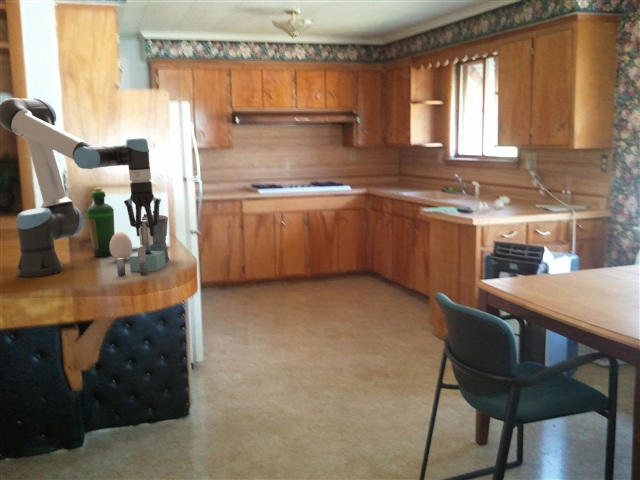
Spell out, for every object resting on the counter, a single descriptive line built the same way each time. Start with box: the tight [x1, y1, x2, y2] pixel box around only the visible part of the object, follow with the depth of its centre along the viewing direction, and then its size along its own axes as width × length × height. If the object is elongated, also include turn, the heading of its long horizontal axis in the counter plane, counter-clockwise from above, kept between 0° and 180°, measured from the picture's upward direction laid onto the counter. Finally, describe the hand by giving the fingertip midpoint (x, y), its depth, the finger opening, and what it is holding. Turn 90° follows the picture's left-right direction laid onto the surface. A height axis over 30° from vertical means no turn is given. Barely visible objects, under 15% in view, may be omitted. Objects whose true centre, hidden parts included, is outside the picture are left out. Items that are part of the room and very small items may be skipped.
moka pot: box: [141, 210, 170, 263], centre depth 251 cm, size 10×15×20 cm, turn 53°
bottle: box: [86, 187, 116, 258], centre depth 267 cm, size 11×11×28 cm
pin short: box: [115, 258, 126, 277], centre depth 229 cm, size 3×3×6 cm
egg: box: [109, 231, 133, 261], centre depth 256 cm, size 9×9×12 cm
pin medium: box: [136, 245, 148, 276], centre depth 228 cm, size 3×3×10 cm
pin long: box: [141, 220, 151, 255], centre depth 238 cm, size 3×3×14 cm
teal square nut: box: [128, 251, 166, 272], centre depth 239 cm, size 10×10×6 cm
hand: (146, 244), depth 238 cm, fingers closed on pin long, 2 cm apart
